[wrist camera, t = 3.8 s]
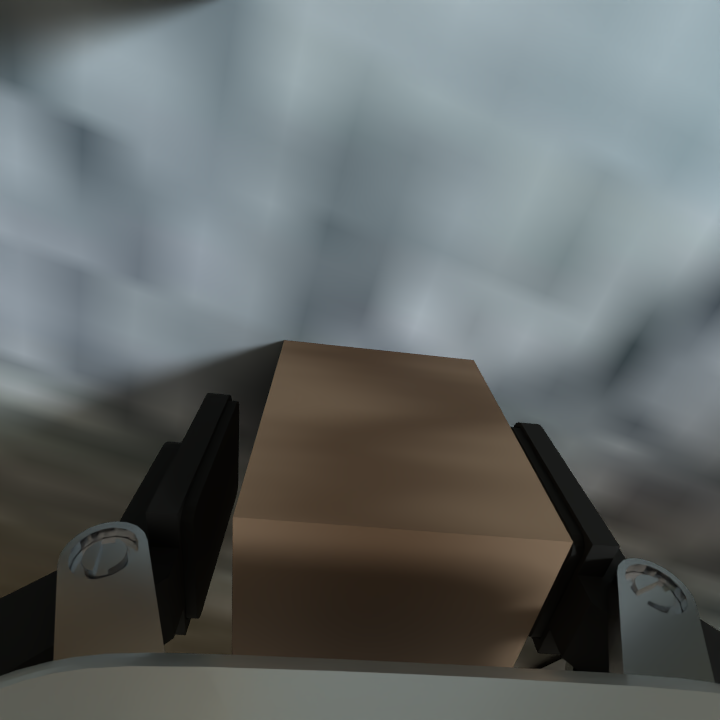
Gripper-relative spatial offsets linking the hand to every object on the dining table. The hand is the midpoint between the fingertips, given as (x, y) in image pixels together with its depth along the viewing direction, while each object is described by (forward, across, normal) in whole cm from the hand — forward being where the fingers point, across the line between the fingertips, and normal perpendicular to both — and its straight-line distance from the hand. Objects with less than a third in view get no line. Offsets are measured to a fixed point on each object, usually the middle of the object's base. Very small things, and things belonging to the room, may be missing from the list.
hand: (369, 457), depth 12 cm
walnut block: (+1, 0, 0) cm, 1 cm away
